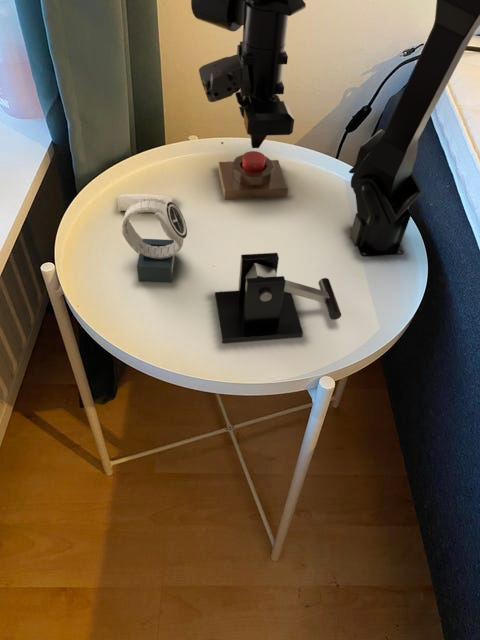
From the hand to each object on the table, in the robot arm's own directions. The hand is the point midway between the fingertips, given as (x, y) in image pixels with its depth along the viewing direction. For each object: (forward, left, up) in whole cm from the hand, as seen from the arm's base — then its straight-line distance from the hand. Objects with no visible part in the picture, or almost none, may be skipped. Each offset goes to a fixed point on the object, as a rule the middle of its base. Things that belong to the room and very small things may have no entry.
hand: (255, 146), depth 84 cm
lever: (0, +29, -3) cm, 29 cm away
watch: (+16, +19, -7) cm, 26 cm away
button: (0, 0, -4) cm, 4 cm away
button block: (0, 0, -7) cm, 7 cm away
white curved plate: (+17, +5, -7) cm, 19 cm away
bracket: (+4, +29, -7) cm, 30 cm away
